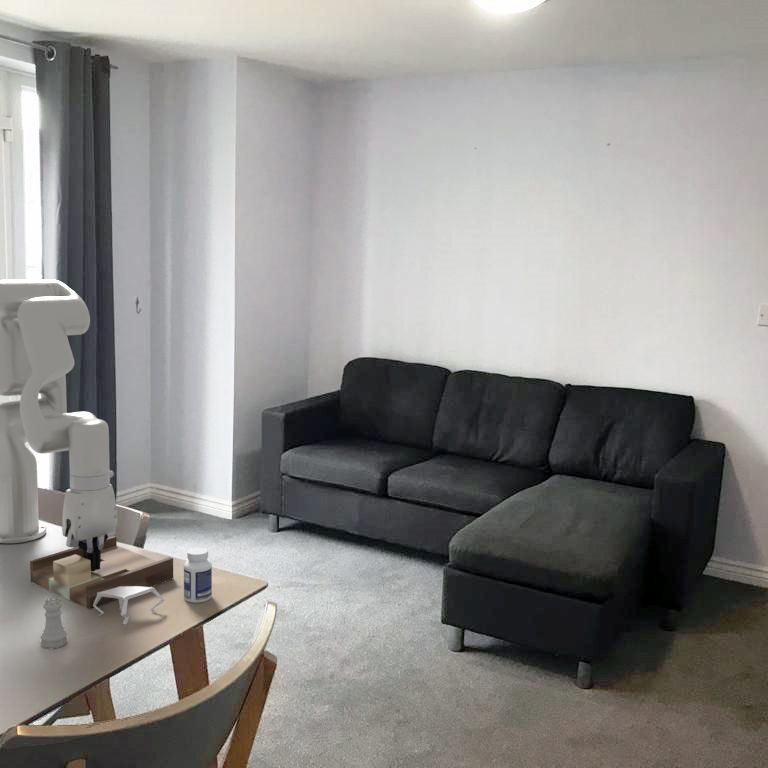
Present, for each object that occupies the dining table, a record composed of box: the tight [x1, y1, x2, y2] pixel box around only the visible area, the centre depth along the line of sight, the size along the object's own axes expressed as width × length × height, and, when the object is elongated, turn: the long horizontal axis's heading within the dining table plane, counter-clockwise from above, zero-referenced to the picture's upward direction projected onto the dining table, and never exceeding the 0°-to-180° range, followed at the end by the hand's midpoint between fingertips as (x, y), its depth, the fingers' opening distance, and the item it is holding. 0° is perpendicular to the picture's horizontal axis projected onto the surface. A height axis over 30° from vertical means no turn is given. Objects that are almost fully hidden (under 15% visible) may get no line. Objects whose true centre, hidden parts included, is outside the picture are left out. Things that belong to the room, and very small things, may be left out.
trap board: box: [29, 535, 174, 610], centre depth 177 cm, size 20×20×4 cm
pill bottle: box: [183, 547, 213, 604], centre depth 169 cm, size 5×5×10 cm
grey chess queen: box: [40, 596, 69, 649], centre depth 149 cm, size 4×4×8 cm
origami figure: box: [93, 586, 166, 625], centre depth 161 cm, size 12×8×5 cm
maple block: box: [53, 554, 91, 587], centre depth 170 cm, size 5×5×4 cm
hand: (92, 568), depth 174 cm, fingers closed
